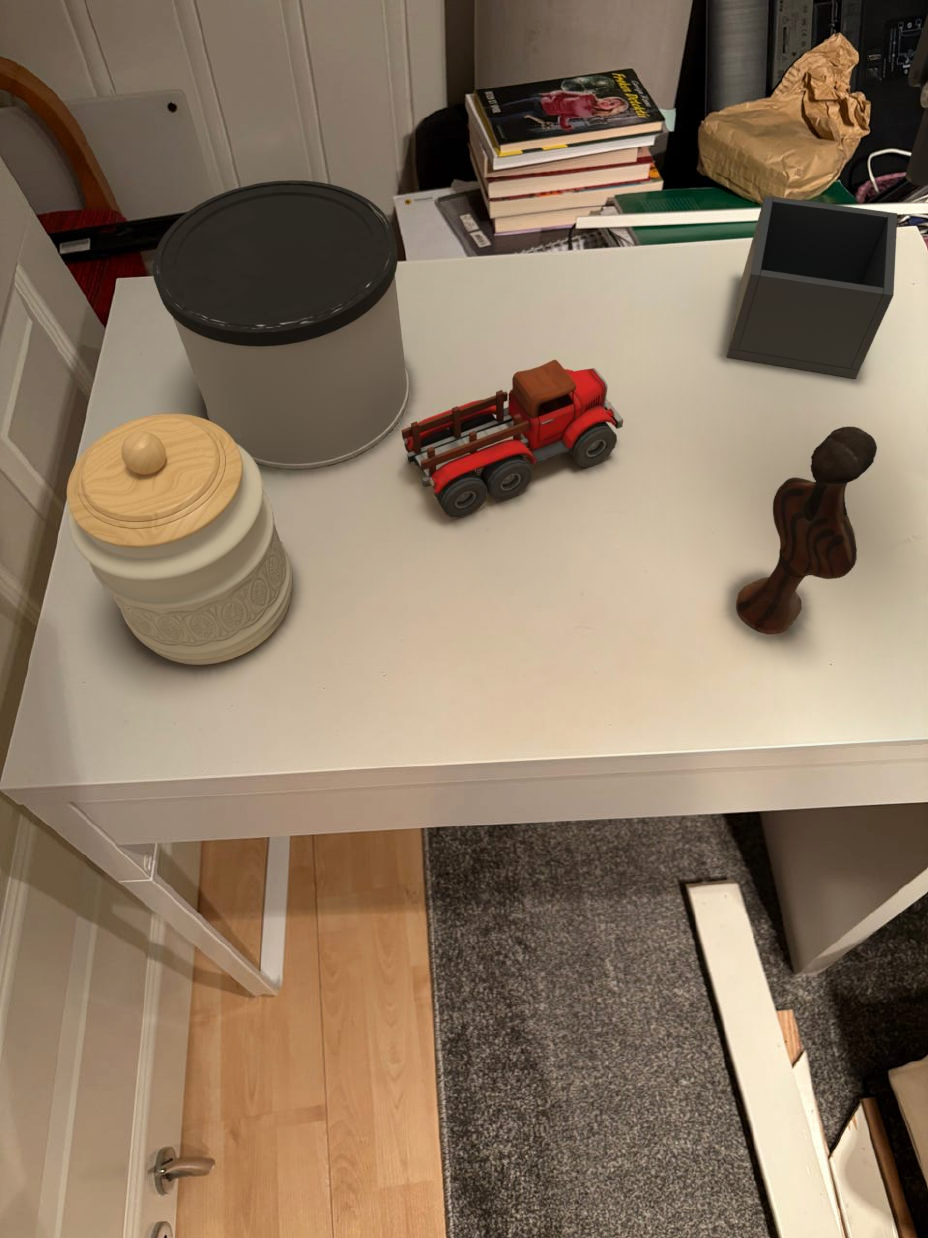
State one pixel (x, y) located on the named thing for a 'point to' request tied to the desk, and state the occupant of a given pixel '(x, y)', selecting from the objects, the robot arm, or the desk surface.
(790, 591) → the figurine
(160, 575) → the jar
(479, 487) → the toy truck
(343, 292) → the container
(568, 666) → the desk surface
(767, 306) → the bin
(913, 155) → the robot arm
